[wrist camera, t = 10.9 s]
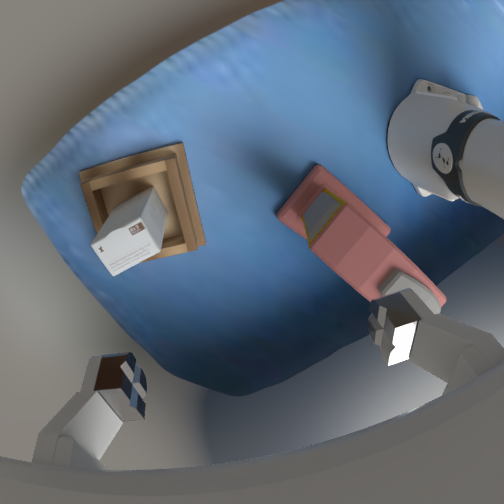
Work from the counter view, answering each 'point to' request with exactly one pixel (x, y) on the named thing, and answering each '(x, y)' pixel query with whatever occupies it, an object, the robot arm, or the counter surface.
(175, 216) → the wooden tray
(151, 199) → the skincare box
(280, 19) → the counter surface
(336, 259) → the pink blocky piece
